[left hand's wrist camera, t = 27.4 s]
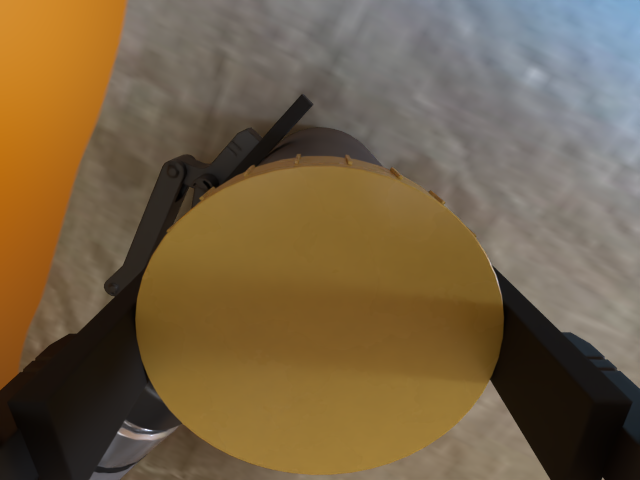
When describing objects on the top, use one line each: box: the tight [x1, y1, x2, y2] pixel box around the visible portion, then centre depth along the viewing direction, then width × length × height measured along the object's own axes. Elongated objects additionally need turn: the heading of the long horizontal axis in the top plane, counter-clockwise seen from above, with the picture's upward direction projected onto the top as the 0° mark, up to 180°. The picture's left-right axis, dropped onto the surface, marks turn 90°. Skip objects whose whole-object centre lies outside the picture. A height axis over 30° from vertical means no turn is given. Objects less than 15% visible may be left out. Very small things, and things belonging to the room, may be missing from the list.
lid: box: [135, 154, 504, 475], centre depth 11 cm, size 11×11×2 cm
